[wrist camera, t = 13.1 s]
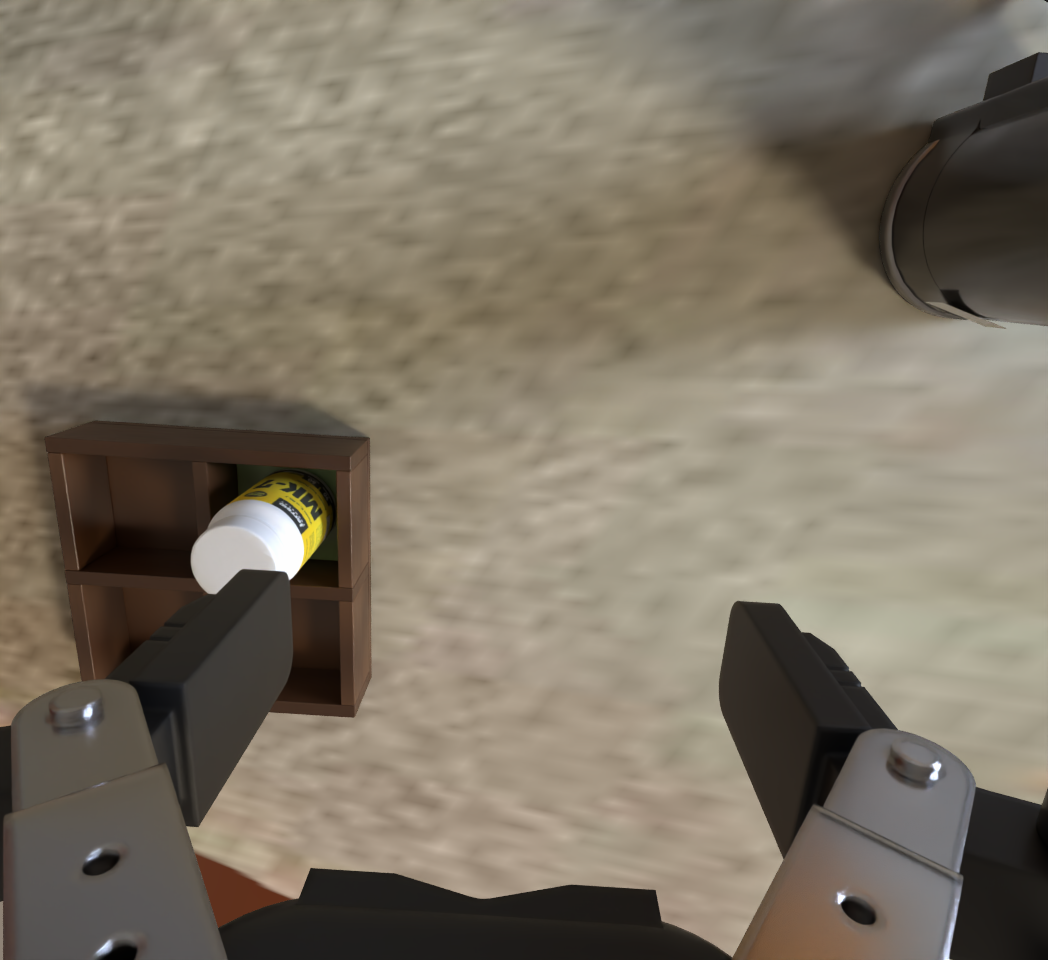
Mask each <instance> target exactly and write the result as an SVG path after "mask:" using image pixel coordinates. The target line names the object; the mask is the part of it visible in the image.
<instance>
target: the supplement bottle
mask: <svg viewBox="0 0 1048 960" xmlns="http://www.w3.org/2000/svg"><path fill="white" fill-rule="evenodd" d="M336 517H337V506H336V501H335V498H334V495H333V493H332V491H331V490H330V488H329V487H328V486H327V484H326V483H325V482H324V481H323V480H321V479H320V478H319V477H317V476H316V475H314V474H312V473H310V472H307V471H304V470H300V469H282V470H278V471H275V472H273V473H271V474H270V475H268V476H266V477H265V478H264V479H262V480H261V481H259V482H258V483H257V484H255V485H254V486H252V487H251V488H250V489H248V490H247V491H245V492H244V493H243V494H241V495H240V496H238V497H237V498H236V499H234V500H233V501H231V502H230V503H229V504H227V505H226V506H225V507H223V508H222V509H221V510H220V511H219V512H218V513H217V514H216V515H215V516H214V517H213V519H212V520H211V522H210V524H209V526H208V529H207V530H206V531H205V532H204V533H202V534H201V535H200V536H199V538H198V539H197V540H196V542H195V543H194V546H193V548H192V552H191V568H192V572H193V575H194V577H195V578H196V580H197V582H198V583H199V585H200V586H201V587H202V588H203V589H204V590H205V591H206V592H207V593H208V594H217V593H218V592H219V591H220V590H221V589H222V588H223V587H224V586H225V585H226V584H227V583H228V582H229V581H230V580H231V579H232V578H233V577H234V576H235V575H236V574H237V573H238V572H239V571H240V570H241V569H254V570H270V571H284V572H286V573H287V575H288V577H289V580H290V579H292V578H293V577H294V576H295V575H296V573H297V572H298V571H299V570H300V569H301V567H302V566H303V565H304V564H305V563H306V561H307V560H308V559H309V558H310V557H311V555H312V554H313V553H314V552H315V551H316V549H317V548H318V547H319V546H320V545H321V543H322V542H323V541H324V540H325V538H326V537H327V536H328V535H329V533H330V532H331V530H332V529H333V527H334V525H335V521H336Z"/></svg>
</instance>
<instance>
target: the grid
mask: <svg viewBox="0 0 1048 960" xmlns="http://www.w3.org/2000/svg"><path fill="white" fill-rule="evenodd" d="M45 444H46V451H47V452H48V461H49V467H50V474H51V481H52V487H53V494H54V500H55V507H56V513H57V520H58V527H59V533H60V540H61V546H62V553H63V559H64V566H65V575H66V582H67V588H68V594H69V601H70V607H71V614H72V621H73V627H74V634H75V640H76V647H77V653H78V660H79V666H80V673H81V680H82V681H88V680H97V679H105V678H106V677H107V676H108V675H109V674H110V673H111V672H113V671H114V670H115V669H116V668H117V667H118V666H119V665H120V664H121V663H122V662H123V661H124V660H125V659H126V658H127V657H129V656H130V655H131V654H132V653H133V652H134V651H135V650H136V649H137V648H138V647H139V646H140V645H141V644H142V643H144V642H145V641H146V640H149V639H150V636H151V635H152V634H153V633H154V632H155V631H156V630H157V629H158V628H160V627H161V626H163V627H164V623H165V622H166V621H167V620H168V619H169V618H170V617H171V616H172V615H173V614H174V613H176V612H177V611H178V610H179V609H180V608H181V607H182V606H184V605H186V604H188V603H190V602H192V601H194V600H196V599H198V598H200V597H203V596H205V595H207V594H208V593H207V592H206V591H205V590H204V589H203V588H202V587H201V586H200V585H199V583H198V582H197V580H196V578H195V577H194V575H193V572H192V568H191V552H192V548H193V546H194V543H195V542H196V540H197V539H198V538H199V536H200V535H201V534H202V533H204V532H205V531H206V530H207V529H208V526H209V524H210V522H211V520H212V519H213V517H214V516H215V515H216V514H217V513H218V512H219V511H220V510H221V509H222V508H223V507H225V506H226V505H227V504H229V503H230V502H231V501H233V500H234V499H236V498H237V497H238V496H240V495H241V494H243V493H244V492H245V491H247V490H248V489H250V488H251V487H252V486H254V485H255V484H257V483H258V482H259V481H261V480H262V479H264V478H265V477H266V476H268V475H270V474H271V473H273V472H275V471H278V470H282V469H300V470H304V471H307V472H310V473H312V474H314V475H316V476H317V477H319V478H320V479H321V480H323V481H324V482H325V483H326V484H327V486H328V487H329V488H330V490H331V491H332V493H333V495H334V498H335V501H336V506H337V517H336V521H335V525H334V527H333V529H332V530H331V532H330V533H329V535H328V536H327V537H326V538H325V540H324V541H323V542H322V543H321V545H320V546H319V547H318V548H317V549H316V551H315V552H314V553H313V554H312V555H311V557H310V558H309V559H308V560H307V561H306V563H305V564H304V565H303V566H302V567H301V569H300V570H299V571H298V572H297V573H296V575H295V576H294V577H293V578H292V579H290V580H289V581H290V592H291V614H292V636H293V659H292V666H291V670H290V674H289V677H288V680H287V682H286V684H285V686H284V688H283V690H282V691H281V693H280V694H279V696H278V698H277V699H276V701H275V703H274V704H273V706H272V708H271V709H270V711H269V712H275V713H290V714H306V715H322V716H338V717H353V718H354V717H355V716H356V713H357V711H358V708H359V706H360V703H361V701H362V699H363V696H364V694H365V691H366V689H367V686H368V684H369V681H370V679H371V547H370V438H362V437H347V436H331V435H315V434H299V433H284V432H268V431H252V430H236V429H221V428H205V427H189V426H173V425H158V424H142V423H126V422H110V421H92V422H89V423H86V424H83V425H80V426H77V427H74V428H71V429H68V430H65V431H62V432H59V433H56V434H53V435H50V436H47V437H45Z"/></svg>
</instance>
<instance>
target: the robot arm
mask: <svg viewBox="0 0 1048 960" xmlns="http://www.w3.org/2000/svg"><path fill="white" fill-rule="evenodd" d="M1045 1H1046V2H1048V0H1045ZM879 237H880V251H881V257H882V261H883V265H884V268H885V271H886V273H887V275H888V277H889V279H890V281H891V283H892V284H893V286H894V287H895V289H896V290H897V291H898V292H899V294H900V295H901V296H902V297H903V298H904V299H905V300H907V301H908V302H909V303H910V304H912V305H913V306H915V307H916V308H918V309H920V310H922V311H924V312H926V313H929V314H932V315H935V316H939V317H944V318H953V319H963V320H971V321H973V322H976V323H978V324H981V325H983V326H986V327H995V328H1004V327H1001V326H999V325H996V324H994V323H991V322H989V321H986V320H992V321H1001V322H1011V323H1021V324H1030V325H1040V326H1048V53H1040V52H1038V53H1036V54H1034V55H1031V56H1029V57H1027V58H1025V59H1022V60H1020V61H1018V62H1016V63H1013V64H1011V65H1009V66H1006V67H1004V68H1002V69H1000V70H997V71H995V72H993V73H991V74H989V78H988V82H987V86H986V91H985V95H984V99H983V101H982V102H980V103H977V104H975V105H972V106H969V107H967V108H964V109H962V110H959V111H957V112H954V113H951V114H949V115H946V116H944V117H941V118H938V119H937V120H936V121H935V122H934V124H933V127H932V132H931V136H930V139H929V141H928V144H927V145H925V146H924V147H923V148H922V149H921V150H920V151H919V152H917V153H916V154H915V156H914V157H913V158H912V159H911V160H910V161H909V162H908V163H907V165H906V166H905V167H904V169H903V170H902V171H901V173H900V174H899V176H898V177H897V179H896V181H895V183H894V184H893V186H892V188H891V190H890V193H889V195H888V197H887V200H886V203H885V206H884V209H883V213H882V218H881V224H880V236H879ZM1004 329H1006V328H1004ZM292 659H293V636H292V614H291V592H290V581H289V577H288V575H287V573H286V572H284V571H270V570H254V569H241V570H240V571H239V572H238V573H237V574H236V575H235V576H234V577H233V578H232V579H231V580H230V581H229V582H228V583H227V584H226V585H225V586H224V587H223V588H222V589H221V590H220V591H219V592H218V593H217V594H207V595H205V596H203V597H200V598H198V599H196V600H194V601H192V602H190V603H188V604H186V605H184V606H182V607H181V608H180V609H179V610H178V611H177V612H176V613H174V614H173V615H172V616H171V617H170V618H169V619H168V620H167V621H166V622H165V623H164V627H163V626H161V627H160V628H158V629H157V630H156V631H155V632H154V633H153V634H152V635H151V636H150V639H149V640H146V641H145V642H144V643H142V644H141V645H140V646H139V647H138V648H137V649H136V650H135V651H134V652H133V653H132V654H131V655H130V656H129V657H127V658H126V659H125V660H124V661H123V662H122V663H121V664H120V665H119V666H118V667H117V668H116V669H115V670H114V671H113V672H111V673H110V674H109V675H108V676H107V677H106V678H105V679H97V680H88V681H81V682H77V683H72V684H69V685H65V686H62V687H59V688H57V689H54V690H52V691H49V692H47V693H45V694H43V695H41V696H39V697H37V698H36V699H34V700H32V701H31V702H30V703H28V704H27V705H25V706H24V707H23V708H22V709H21V710H20V711H19V712H18V713H17V715H16V716H15V717H14V719H13V721H12V724H11V726H6V727H0V902H1V901H3V960H949V959H952V960H1048V789H1047V792H1046V795H1045V798H1044V800H1043V803H1042V805H1040V804H1036V803H1032V802H1029V801H1025V800H1021V799H1017V798H1014V797H1010V796H1006V795H1002V794H999V793H995V792H991V791H988V790H984V789H981V788H978V787H976V783H975V780H974V777H973V775H972V773H971V772H970V770H969V769H968V768H967V767H966V765H965V764H964V763H963V762H962V761H961V760H960V759H958V758H957V757H956V756H955V755H953V754H952V753H951V752H949V751H948V750H946V749H945V748H943V747H941V746H940V745H938V744H936V743H934V742H932V741H930V740H928V739H925V738H923V737H920V736H918V735H915V734H912V733H908V732H904V731H900V730H898V729H897V728H896V727H895V725H894V724H893V723H892V722H891V720H890V719H889V718H888V717H887V715H886V714H885V713H884V711H883V710H882V709H881V708H880V706H879V705H878V704H877V703H876V701H875V700H874V699H873V698H872V696H871V695H870V694H869V693H868V691H867V690H866V689H865V687H861V682H860V681H859V680H858V679H857V677H856V676H855V675H854V674H853V672H852V671H849V667H848V666H847V665H846V663H845V662H844V661H843V660H842V658H841V657H840V656H839V655H838V653H837V652H836V651H835V650H834V649H833V648H832V647H830V646H829V645H827V644H826V643H824V642H823V641H821V640H820V639H818V638H817V637H815V636H814V635H812V634H811V633H804V632H801V631H800V630H799V629H798V627H797V626H796V624H795V623H794V622H793V620H792V619H791V618H790V616H789V615H788V614H787V612H786V611H785V610H784V608H783V607H782V606H781V605H780V604H775V603H760V602H744V601H737V602H735V603H734V605H733V607H732V609H731V613H730V618H729V624H728V630H727V636H726V642H725V648H724V654H723V660H722V666H721V672H720V678H719V700H720V706H721V710H722V714H723V716H724V719H725V721H726V723H727V726H728V728H729V731H730V733H731V735H732V738H733V740H734V742H735V745H736V747H737V750H738V752H739V754H740V757H741V759H742V761H743V764H744V766H745V769H746V771H747V773H748V776H749V778H750V780H751V783H752V785H753V788H754V790H755V792H756V795H757V797H758V799H759V802H760V804H761V807H762V809H763V811H764V814H765V816H766V818H767V821H768V823H769V826H770V828H771V830H772V833H773V835H774V837H775V840H776V842H777V844H778V847H779V849H780V852H781V854H782V856H783V859H784V860H783V862H782V864H781V866H780V868H779V870H778V872H777V873H776V875H775V877H774V879H773V881H772V883H771V885H770V887H769V889H768V891H767V893H766V895H765V897H764V898H763V900H762V902H761V904H760V906H759V908H758V910H757V912H756V914H755V916H754V918H753V920H752V921H751V923H750V925H749V927H748V929H747V931H746V933H745V935H744V937H743V939H742V941H741V943H740V944H739V946H738V948H737V950H736V952H735V954H734V956H733V958H732V957H731V956H729V955H728V954H727V953H725V952H724V951H722V950H721V949H719V948H718V947H716V946H715V945H713V944H711V943H710V942H708V941H706V940H704V939H702V938H701V937H699V936H697V935H695V934H693V933H691V932H688V931H686V930H684V929H681V928H679V927H677V926H674V925H671V924H668V923H665V922H662V921H661V916H660V911H659V906H658V901H657V895H656V890H646V889H631V888H615V887H599V886H583V885H566V886H560V887H555V888H549V889H543V890H537V891H531V892H525V893H520V894H514V895H508V896H502V897H496V898H490V899H478V898H473V897H470V896H466V895H463V894H460V893H457V892H453V891H450V890H447V889H444V888H440V887H437V886H434V885H431V884H427V883H424V882H421V881H418V880H414V879H411V878H408V877H405V876H402V875H398V874H394V873H378V872H363V871H347V870H331V869H315V868H310V871H309V874H308V876H307V879H306V882H305V884H304V887H303V889H302V892H301V895H300V897H299V899H293V900H288V901H284V902H280V903H277V904H273V905H270V906H266V907H263V908H261V909H258V910H255V911H253V912H251V913H248V914H245V915H243V916H241V917H239V918H237V919H235V920H233V921H231V922H229V923H227V924H225V925H223V926H221V927H219V928H218V927H217V923H216V920H215V917H214V914H213V911H212V908H211V904H210V901H209V898H208V895H207V891H206V888H205V885H204V882H203V879H202V876H201V872H200V869H199V866H198V863H197V859H196V856H195V853H194V850H193V847H192V843H191V840H190V837H189V834H188V831H187V827H186V826H190V827H199V825H200V823H201V822H202V820H203V819H204V817H205V815H206V814H207V812H208V810H209V809H210V807H211V805H212V804H213V802H214V801H215V799H216V797H217V796H218V794H219V792H220V791H221V789H222V788H223V786H224V784H225V783H226V781H227V779H228V778H229V776H230V774H231V773H232V771H233V770H234V768H235V766H236V765H237V763H238V761H239V760H240V758H241V757H242V755H243V753H244V752H245V750H246V748H247V747H248V745H249V743H250V742H251V740H252V739H253V737H254V735H255V734H256V732H257V730H258V729H259V727H260V725H261V724H262V722H263V721H264V719H265V717H266V716H267V714H268V712H269V711H270V709H271V708H272V706H273V704H274V703H275V701H276V699H277V698H278V696H279V694H280V693H281V691H282V690H283V688H284V686H285V684H286V682H287V680H288V677H289V674H290V670H291V666H292Z"/></svg>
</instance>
